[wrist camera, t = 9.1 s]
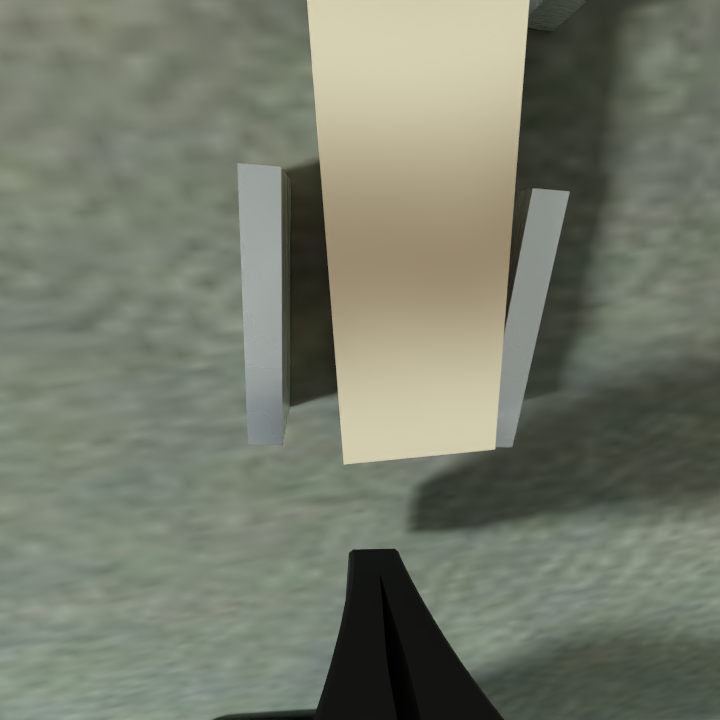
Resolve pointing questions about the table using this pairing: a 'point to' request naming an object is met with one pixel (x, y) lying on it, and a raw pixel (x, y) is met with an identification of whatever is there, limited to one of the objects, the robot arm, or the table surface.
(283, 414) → the channel
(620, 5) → the table surface
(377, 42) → the beige rectangular bar
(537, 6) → the block
